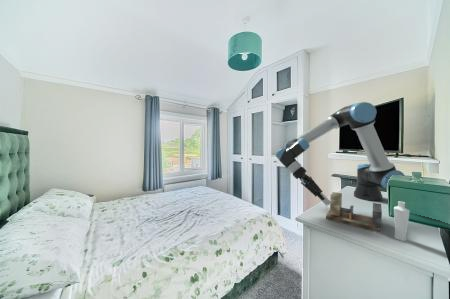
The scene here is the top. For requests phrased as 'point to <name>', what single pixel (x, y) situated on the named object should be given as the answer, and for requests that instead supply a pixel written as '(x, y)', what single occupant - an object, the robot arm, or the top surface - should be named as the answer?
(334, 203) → the gauge plunger
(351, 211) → the peak needle
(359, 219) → the base
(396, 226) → the perfume bottle
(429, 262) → the top surface
